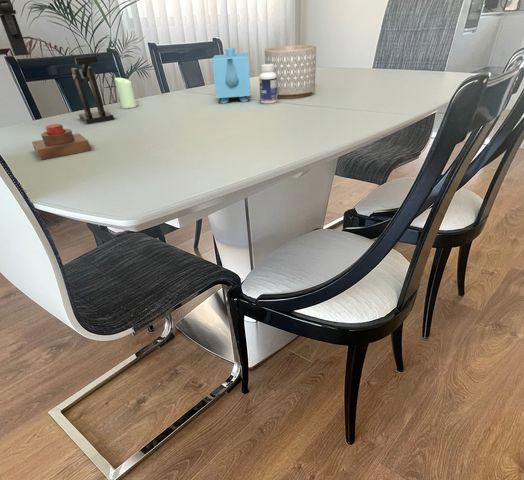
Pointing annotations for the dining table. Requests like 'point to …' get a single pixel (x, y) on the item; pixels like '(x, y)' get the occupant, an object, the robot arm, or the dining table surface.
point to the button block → (60, 144)
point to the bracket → (88, 116)
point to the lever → (85, 66)
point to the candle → (125, 93)
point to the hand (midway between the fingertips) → (21, 54)
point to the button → (54, 129)
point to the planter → (293, 69)
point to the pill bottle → (268, 84)
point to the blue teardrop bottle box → (231, 75)
